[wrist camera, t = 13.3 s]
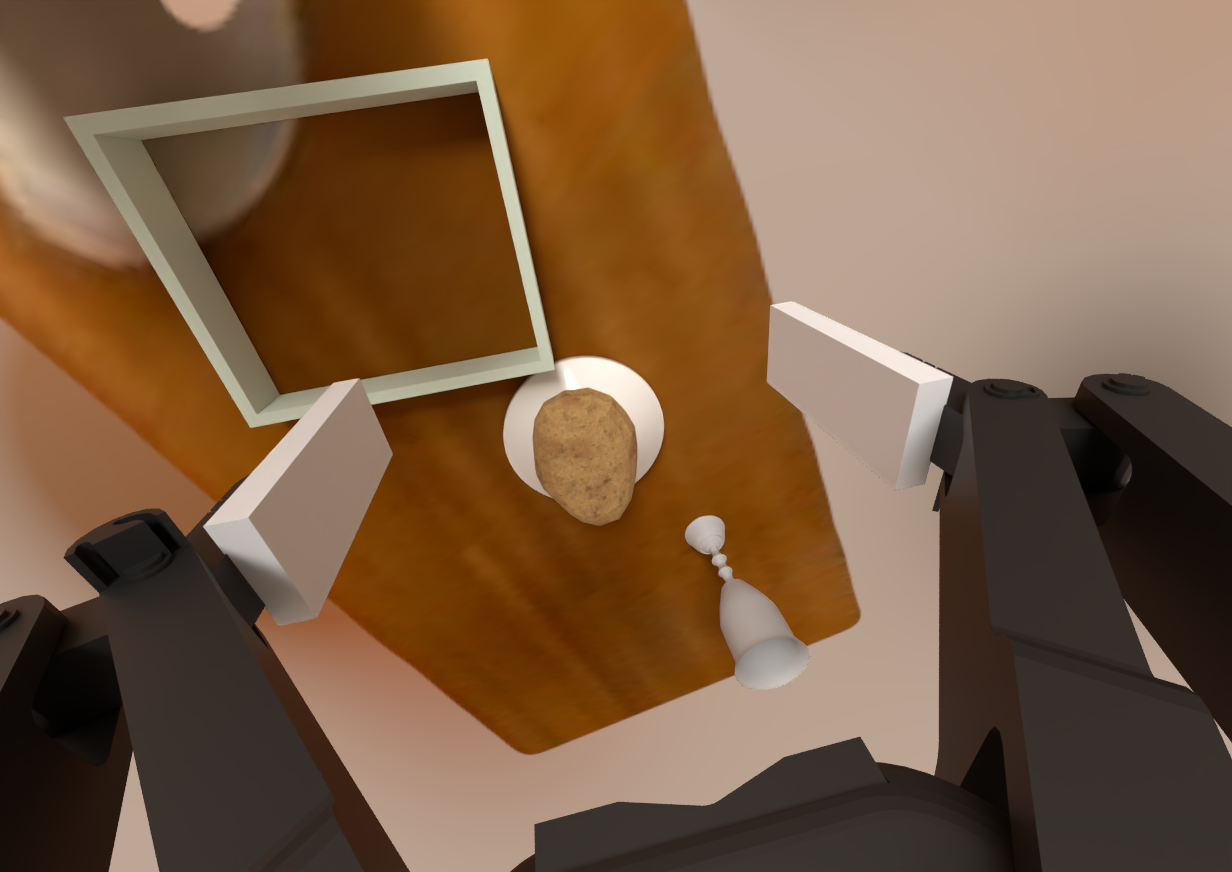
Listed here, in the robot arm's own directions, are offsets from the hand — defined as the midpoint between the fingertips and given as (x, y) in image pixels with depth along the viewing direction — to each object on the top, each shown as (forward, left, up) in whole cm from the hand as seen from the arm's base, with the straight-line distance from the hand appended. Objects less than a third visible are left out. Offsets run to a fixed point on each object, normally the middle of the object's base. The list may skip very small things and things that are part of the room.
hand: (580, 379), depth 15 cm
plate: (+17, 0, -28) cm, 32 cm away
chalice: (+34, +12, -28) cm, 45 cm away
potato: (+16, 0, -27) cm, 31 cm away
